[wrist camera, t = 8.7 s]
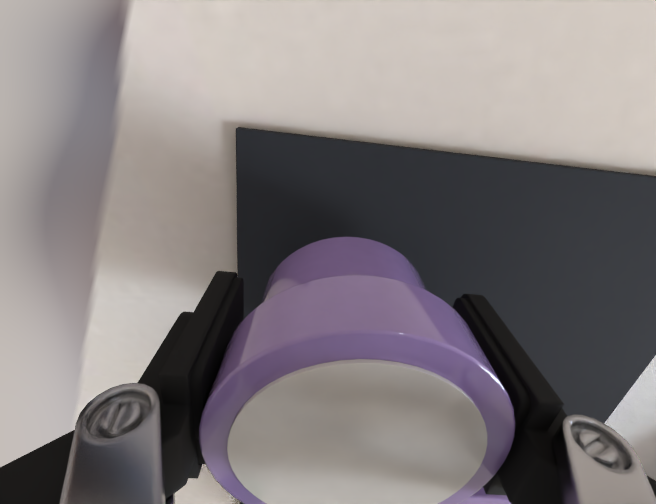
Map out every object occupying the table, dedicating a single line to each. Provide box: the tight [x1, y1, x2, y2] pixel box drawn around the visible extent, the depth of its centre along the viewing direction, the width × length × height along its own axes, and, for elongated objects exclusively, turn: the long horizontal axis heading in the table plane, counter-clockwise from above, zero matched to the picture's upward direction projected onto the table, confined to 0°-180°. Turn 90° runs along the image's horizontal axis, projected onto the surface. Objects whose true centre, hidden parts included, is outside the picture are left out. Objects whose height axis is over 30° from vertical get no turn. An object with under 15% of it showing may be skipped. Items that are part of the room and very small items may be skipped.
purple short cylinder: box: [199, 237, 515, 504], centre depth 9 cm, size 6×6×5 cm
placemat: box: [236, 127, 656, 504], centre depth 17 cm, size 26×18×1 cm
